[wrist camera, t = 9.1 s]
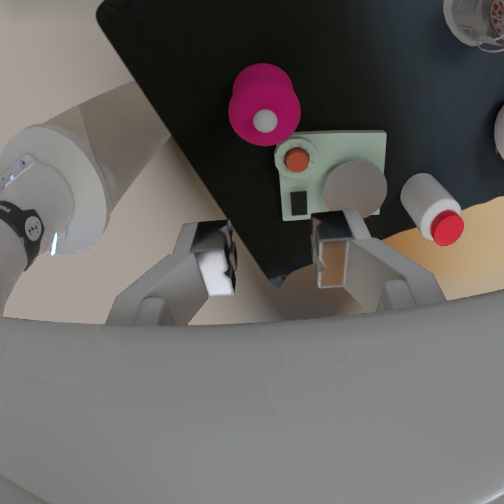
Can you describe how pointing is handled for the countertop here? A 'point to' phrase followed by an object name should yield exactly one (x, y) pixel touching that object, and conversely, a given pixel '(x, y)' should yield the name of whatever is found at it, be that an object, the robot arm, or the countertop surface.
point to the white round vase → (499, 132)
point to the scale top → (348, 189)
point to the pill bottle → (432, 209)
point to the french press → (476, 21)
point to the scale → (324, 162)
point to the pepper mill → (264, 105)
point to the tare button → (297, 160)
